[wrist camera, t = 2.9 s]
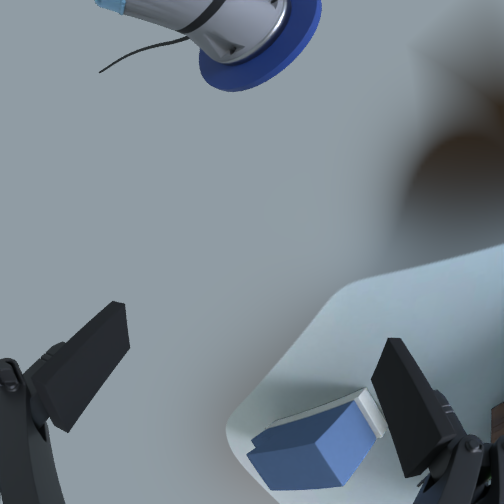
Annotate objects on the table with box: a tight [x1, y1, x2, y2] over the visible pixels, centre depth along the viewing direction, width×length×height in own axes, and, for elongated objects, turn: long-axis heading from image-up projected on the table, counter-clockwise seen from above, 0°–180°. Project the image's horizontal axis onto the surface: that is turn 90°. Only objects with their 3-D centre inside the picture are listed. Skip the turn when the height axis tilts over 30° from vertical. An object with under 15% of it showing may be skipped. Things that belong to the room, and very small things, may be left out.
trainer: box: [246, 387, 388, 490], centre depth 22 cm, size 5×14×9 cm, turn 133°
